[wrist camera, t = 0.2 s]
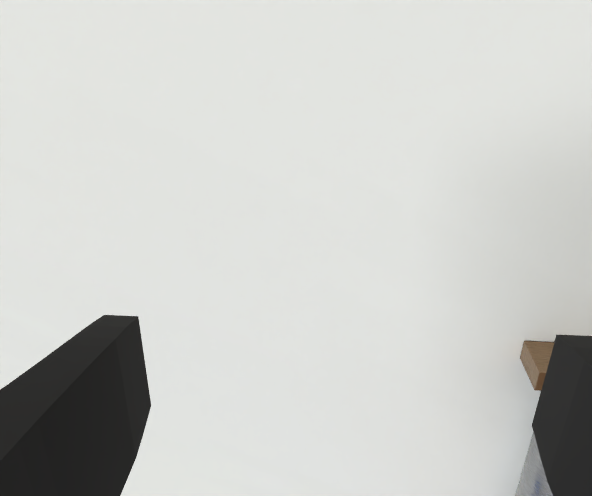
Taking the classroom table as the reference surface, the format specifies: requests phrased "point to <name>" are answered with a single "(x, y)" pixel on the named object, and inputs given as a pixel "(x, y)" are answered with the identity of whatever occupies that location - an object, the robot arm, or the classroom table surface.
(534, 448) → the roller track
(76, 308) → the classroom table surface
